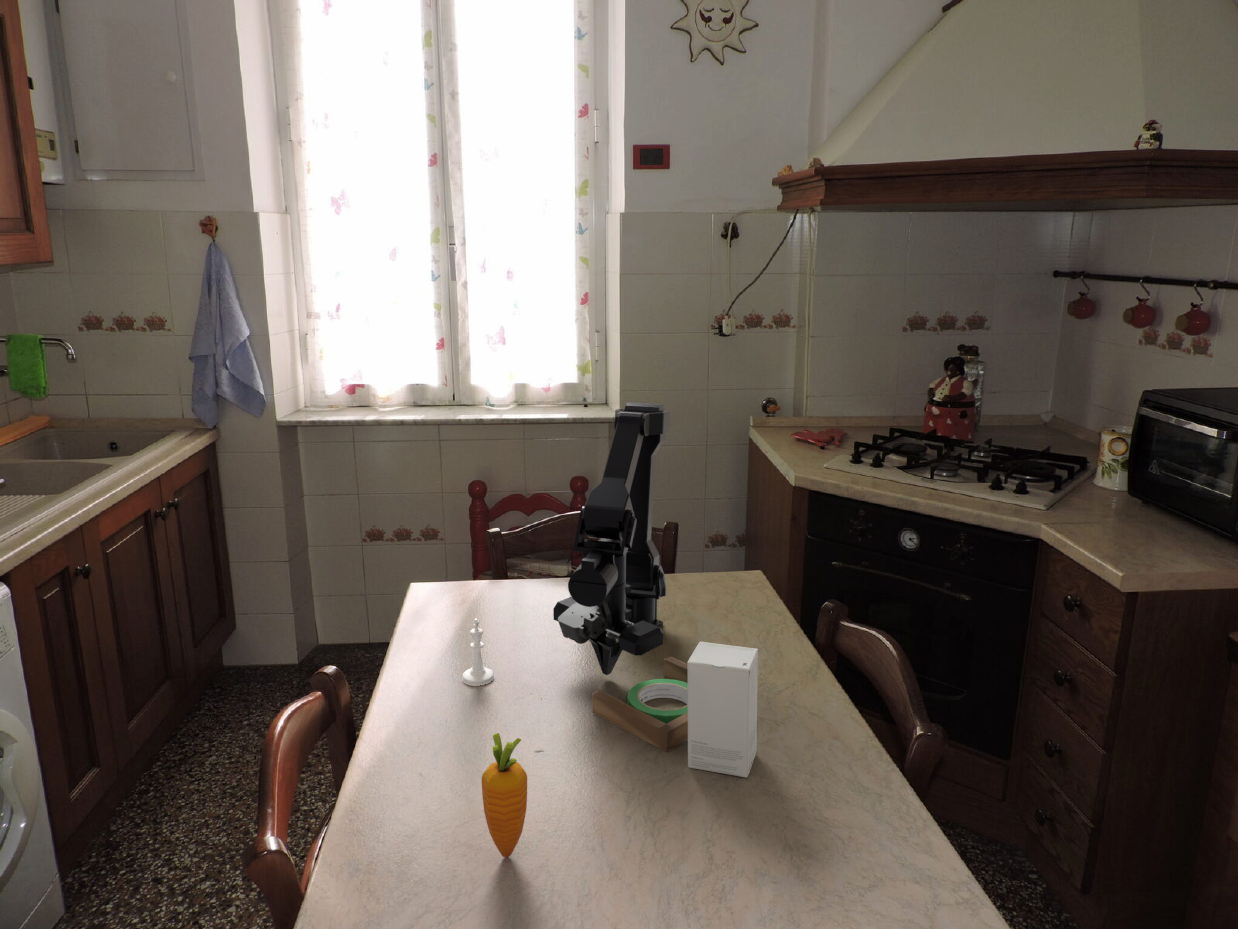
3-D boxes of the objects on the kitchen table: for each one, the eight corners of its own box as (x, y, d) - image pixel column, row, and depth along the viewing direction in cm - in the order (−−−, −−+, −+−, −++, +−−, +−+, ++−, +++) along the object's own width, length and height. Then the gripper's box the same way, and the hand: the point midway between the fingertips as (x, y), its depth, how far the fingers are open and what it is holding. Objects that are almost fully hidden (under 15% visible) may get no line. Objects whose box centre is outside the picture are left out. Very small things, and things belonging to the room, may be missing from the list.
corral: (670, 673, 145) (670, 656, 144) (743, 707, 135) (744, 688, 134) (592, 712, 133) (592, 694, 133) (666, 752, 123) (667, 732, 123)
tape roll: (651, 686, 142) (651, 671, 141) (715, 706, 136) (716, 690, 135) (612, 718, 132) (612, 701, 132) (679, 741, 127) (680, 723, 126)
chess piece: (497, 671, 145) (495, 613, 143) (490, 687, 141) (488, 626, 138) (466, 670, 146) (464, 611, 143) (458, 685, 141) (455, 625, 138)
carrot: (485, 843, 105) (481, 726, 101) (529, 841, 105) (526, 724, 102) (482, 873, 100) (478, 751, 96) (528, 871, 101) (526, 749, 97)
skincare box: (757, 754, 123) (762, 647, 119) (747, 781, 117) (752, 670, 113) (696, 743, 126) (699, 638, 122) (683, 769, 120) (686, 659, 116)
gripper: (526, 578, 140) (528, 671, 144) (614, 614, 127) (613, 715, 131) (578, 559, 147) (579, 648, 151) (666, 591, 135) (665, 687, 139)
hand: (606, 673), depth 143 cm, fingers closed
